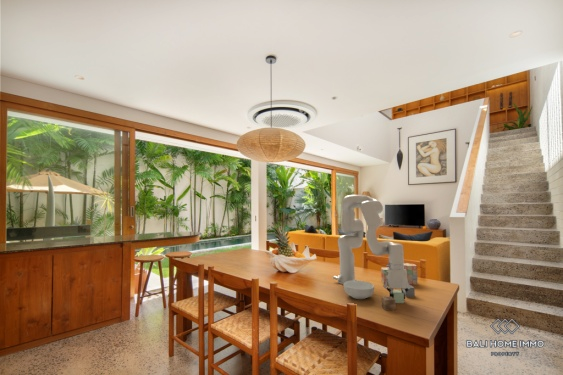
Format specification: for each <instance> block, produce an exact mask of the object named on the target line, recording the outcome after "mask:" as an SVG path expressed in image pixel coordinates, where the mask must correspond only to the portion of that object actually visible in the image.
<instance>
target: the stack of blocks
mask: <svg viewBox="0 0 563 375" xmlns="http://www.w3.org/2000/svg"><path fill="white" fill-rule="evenodd" d="M388 268H389V267H380V274H381V276H380V277H381V279H380V280H381V282H382V283H383V285H384V284H385V283H386V281H387V270H388ZM404 269H406V273H407V279H408V283H409V285H419V284H418V282H419V281H418V266H417V265H416V264H415V263H408V262H406V263H405V262H404Z"/></svg>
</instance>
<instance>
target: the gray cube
mask: <svg viewBox="0 0 563 375" xmlns="http://www.w3.org/2000/svg"><path fill="white" fill-rule="evenodd" d="M409 285H410V286H411V288H410V289H408V291H407V292H406V294H405V298H406V297H407V298H408V297H409V298H410V297H411V298H415V297H416V295H415V294H416V291H415V287H414V286H413V285H412V284H409Z"/></svg>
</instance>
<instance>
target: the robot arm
mask: <svg viewBox="0 0 563 375" xmlns="http://www.w3.org/2000/svg"><path fill="white" fill-rule="evenodd" d="M383 207H384V206H383V204H382V202H381V201H380V200H378V199H376V198H374V197H371V196H369V195H366V194H349V195H346V196H344V197H343V199H342V200H341V224H340V230H341V232H343V233H344V234H343V235H340V236H339V237H338V239H337V245H338V250H339V274H338V275H337V276H336V275H333V276H332V279H333V280H337V283H338V284H340V285H344V282H346V281H352V280H356V276H355V275H356V274H355V255H354V251H352V249H358V248H361V247H362V245H363V242H364V228H365V227H364V222H363V221H362V220H361V219H359V218H355V217H356V212H355V209H358V208H359V209H360V210H361V213H362V216H363V218H364V221H365V224H366V226H367V230H366V242H367V244H368V245H367V246H368V248H369V249H370V251H371V253H372V254H373V255H374V256H378V257H379V256H385V255H388V263H386V266H385V267H386V268H388V270H387V281H386V283H385V284H384V283H383V285H382V287H383V288H384V289H385V290H387V291H388V292H389V297H392V298H393V299H394V294H393V290H396V289H397V290H400V291H401V292H402V293H404V300H405V299H406V296H405V294H406V292H407V291H408V289H410V288H411V286H412V285H411V284H409V283H408V279H407V273H406V269H404V263H405V261H404V260H405V258H404V256H405V255H404V245H403V244H402V243H399V242H392V241H390V240H383V241H379V240H378V237H377V230H378V228H380V227H381V226H382V224H383V222H382V219H381V217H380V214H381V213H382V212H383V209H384V208H383ZM410 285H411V286H410Z"/></svg>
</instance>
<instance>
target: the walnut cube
mask: <svg viewBox="0 0 563 375" xmlns="http://www.w3.org/2000/svg"><path fill="white" fill-rule="evenodd" d="M381 307H382V308H383V309H384V310H385V311H396V303H395V300H394V299H393V298H392V297H390V296H381Z"/></svg>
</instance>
